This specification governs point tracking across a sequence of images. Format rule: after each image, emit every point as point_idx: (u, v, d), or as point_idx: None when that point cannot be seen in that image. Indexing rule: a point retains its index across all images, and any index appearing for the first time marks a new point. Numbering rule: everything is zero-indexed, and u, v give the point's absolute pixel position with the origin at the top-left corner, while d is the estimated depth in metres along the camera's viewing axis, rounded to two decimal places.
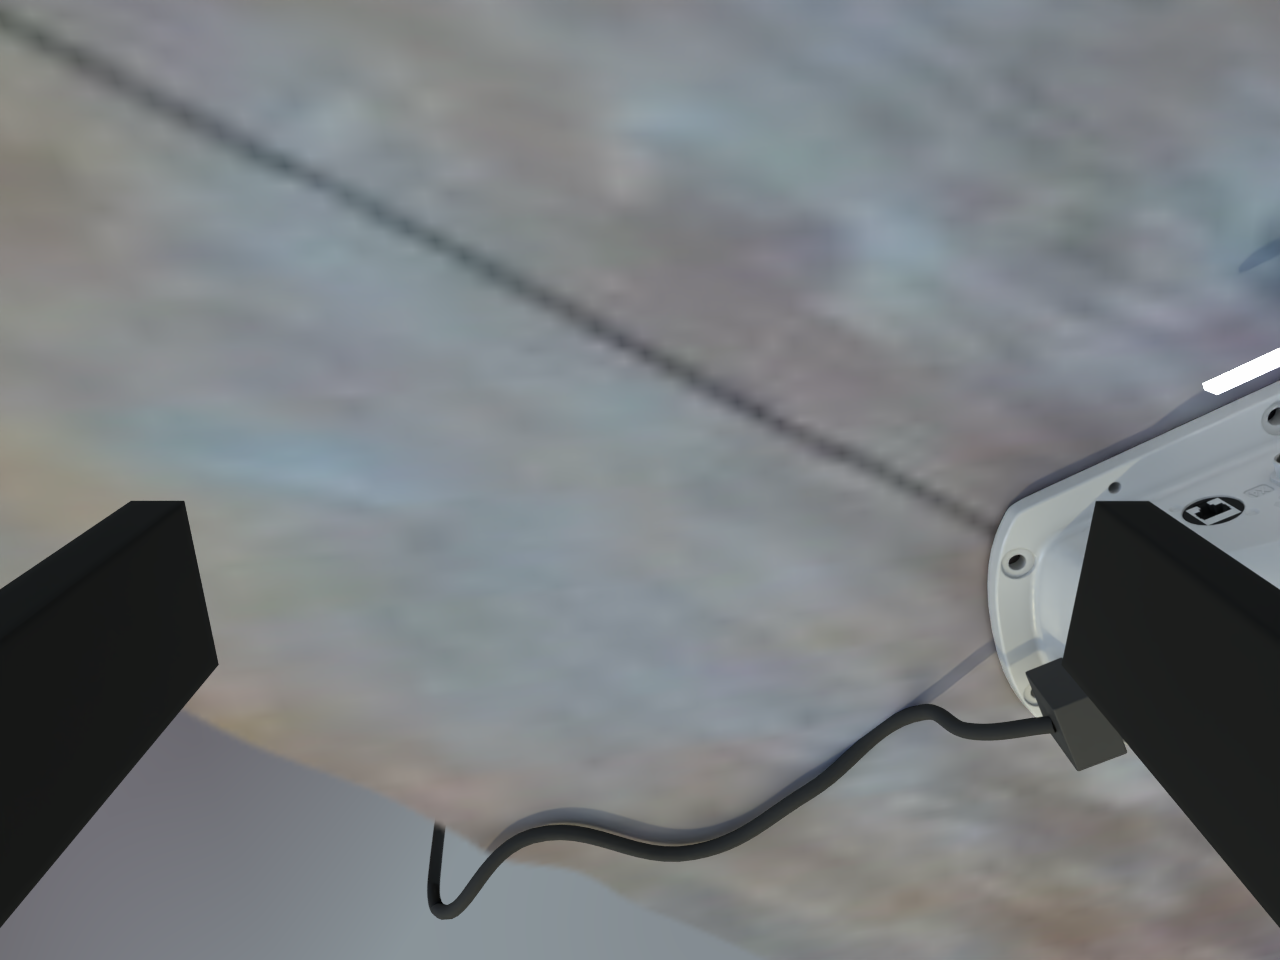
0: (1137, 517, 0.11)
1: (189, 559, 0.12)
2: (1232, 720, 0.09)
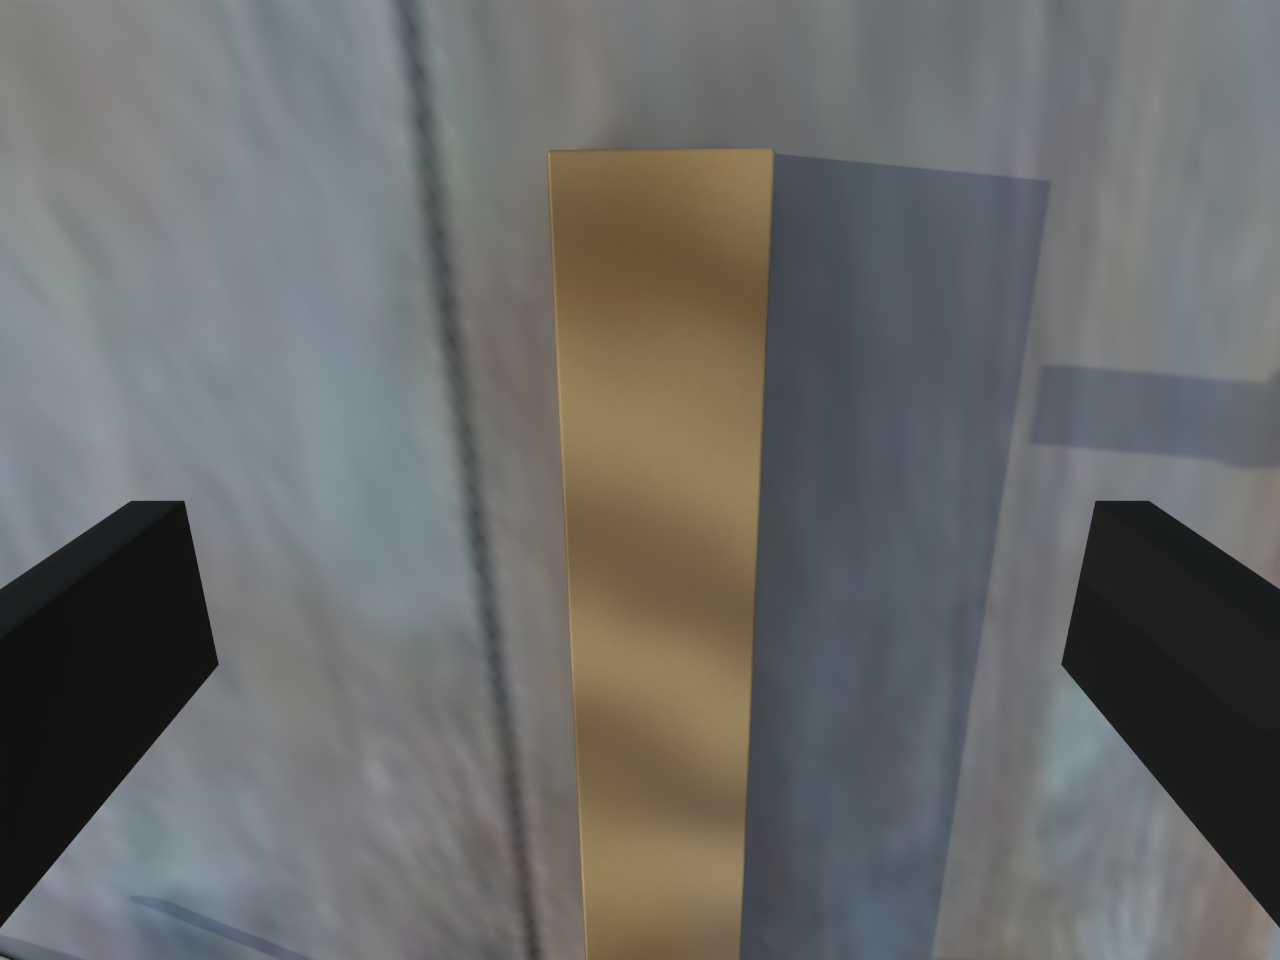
0: (1137, 517, 0.11)
1: (189, 559, 0.12)
2: (1232, 720, 0.09)
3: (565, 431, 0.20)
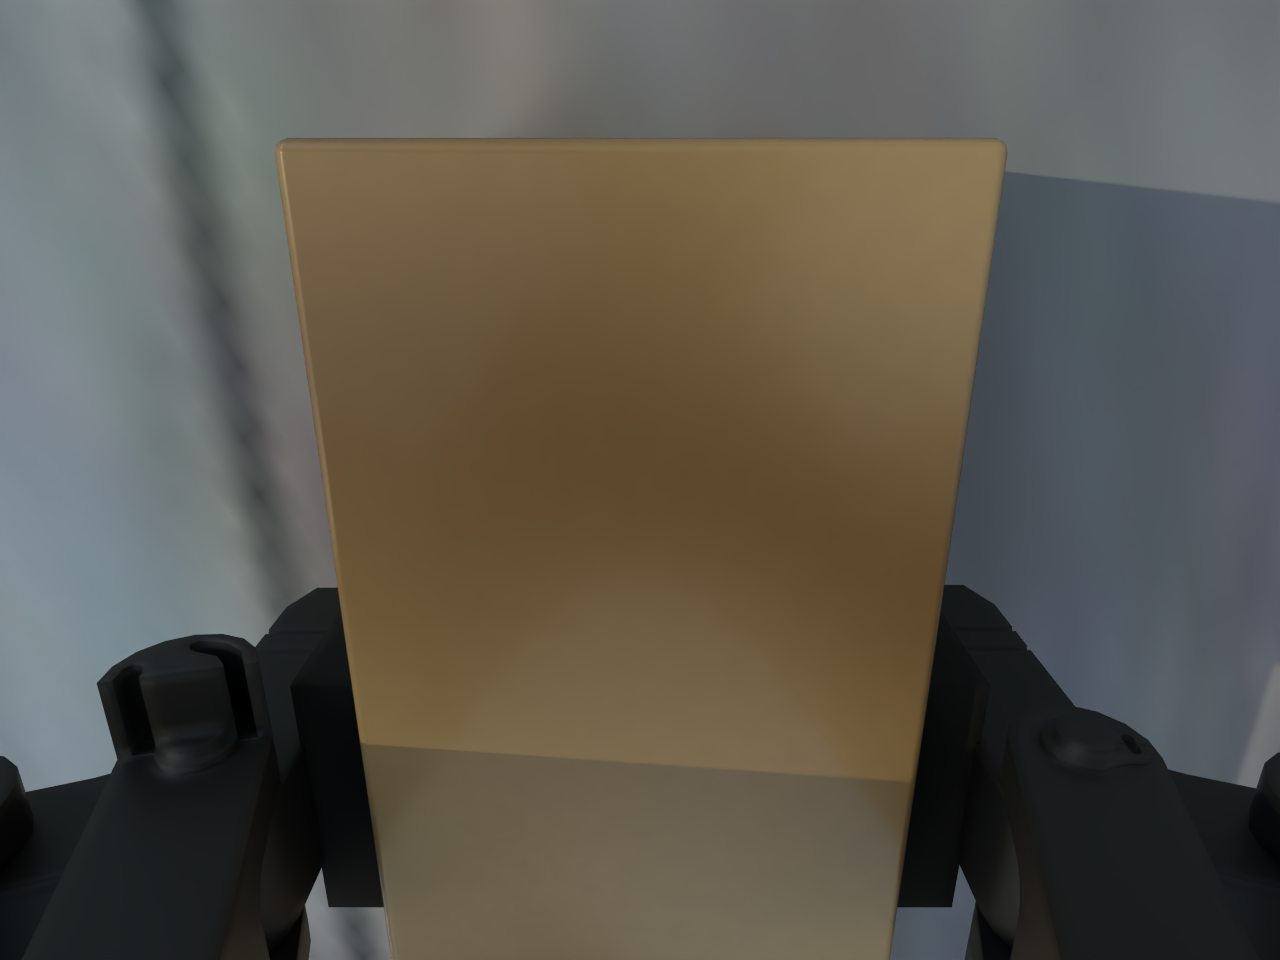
0: None
1: None
2: None
3: (390, 872, 0.08)
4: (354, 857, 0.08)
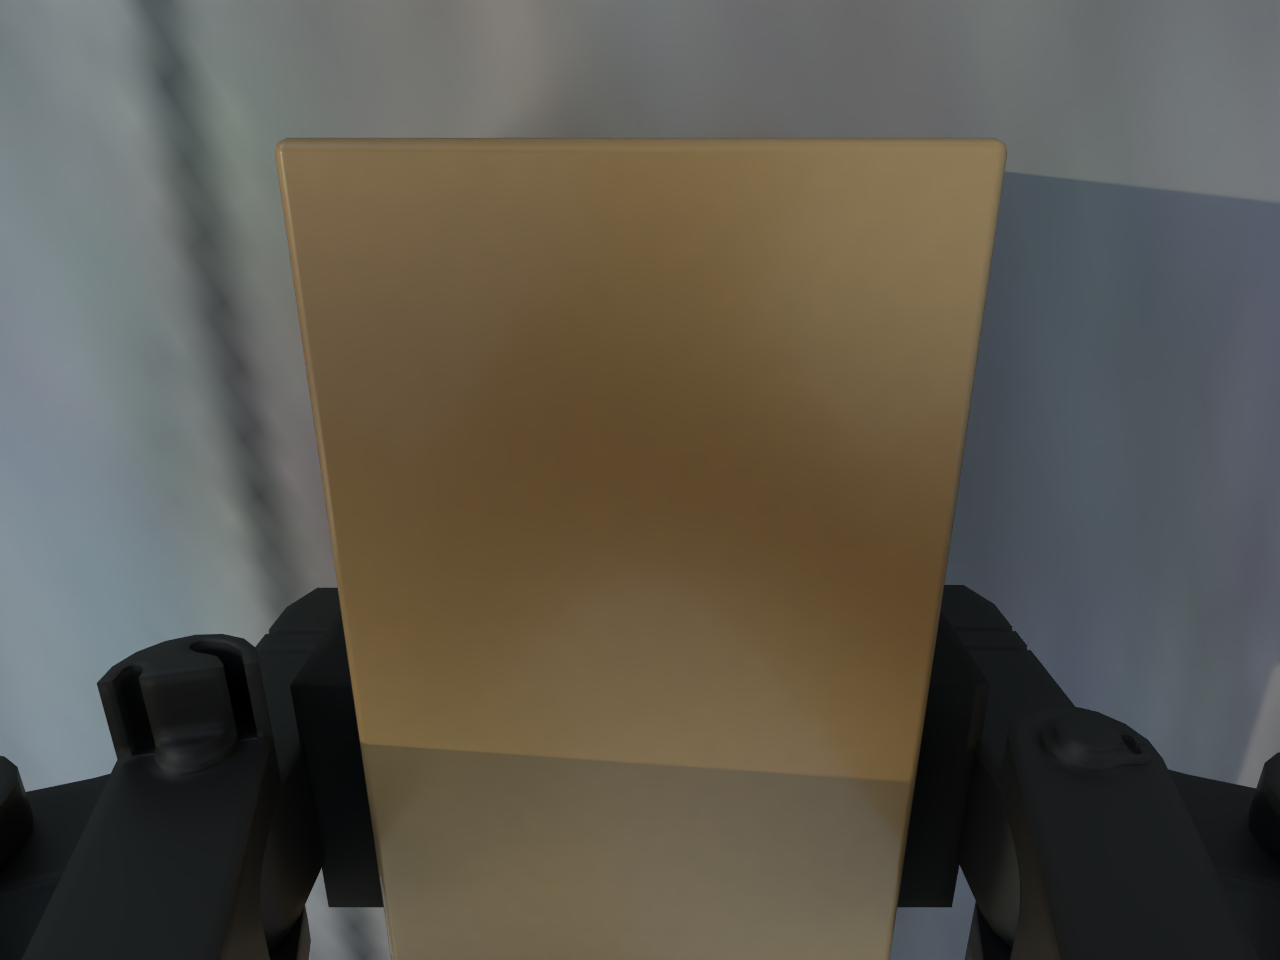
0: None
1: None
2: None
3: (390, 873, 0.08)
4: (354, 857, 0.08)
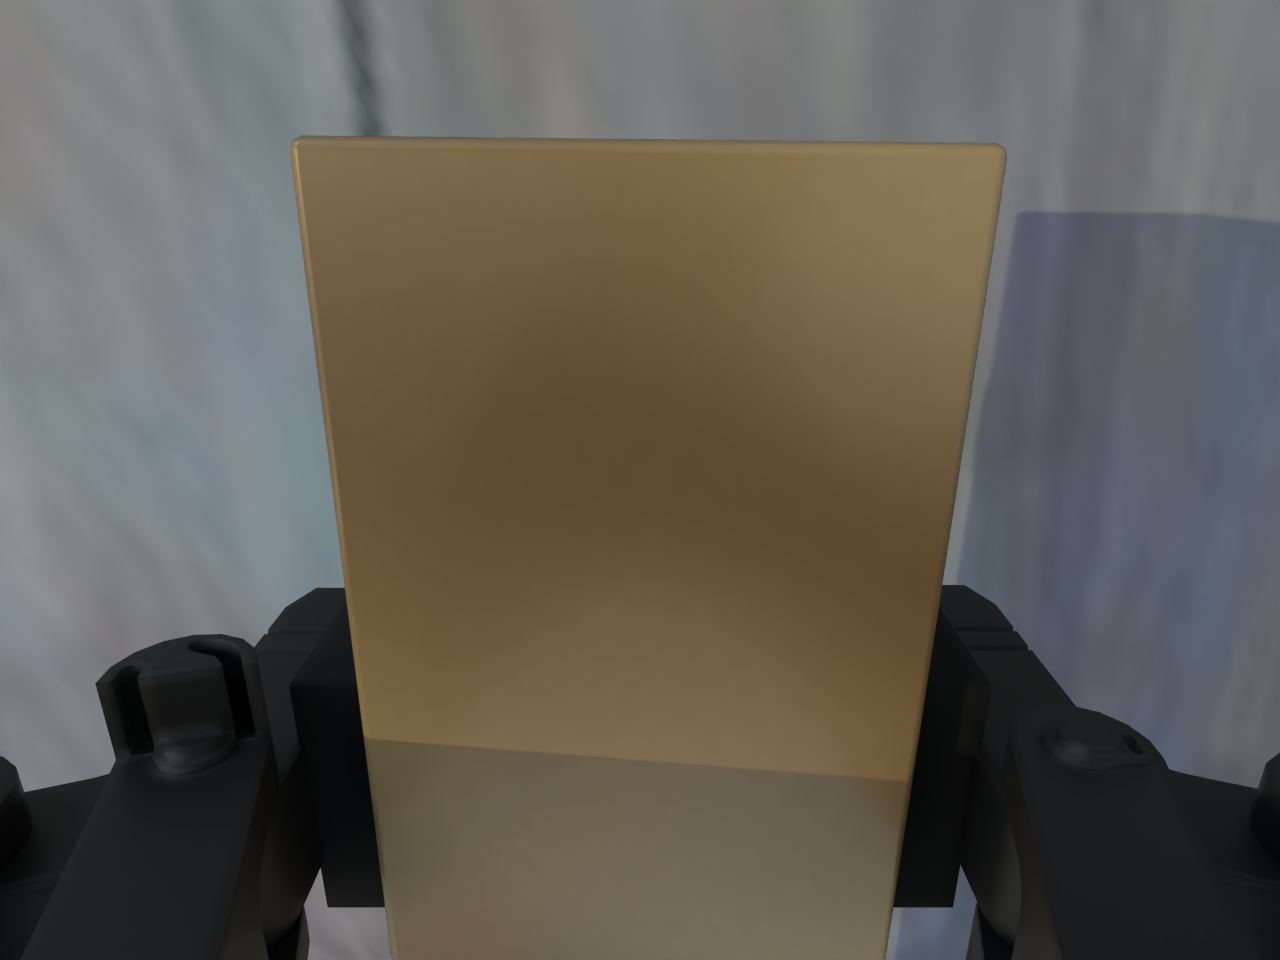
0: None
1: None
2: None
3: (391, 865, 0.08)
4: (353, 857, 0.08)
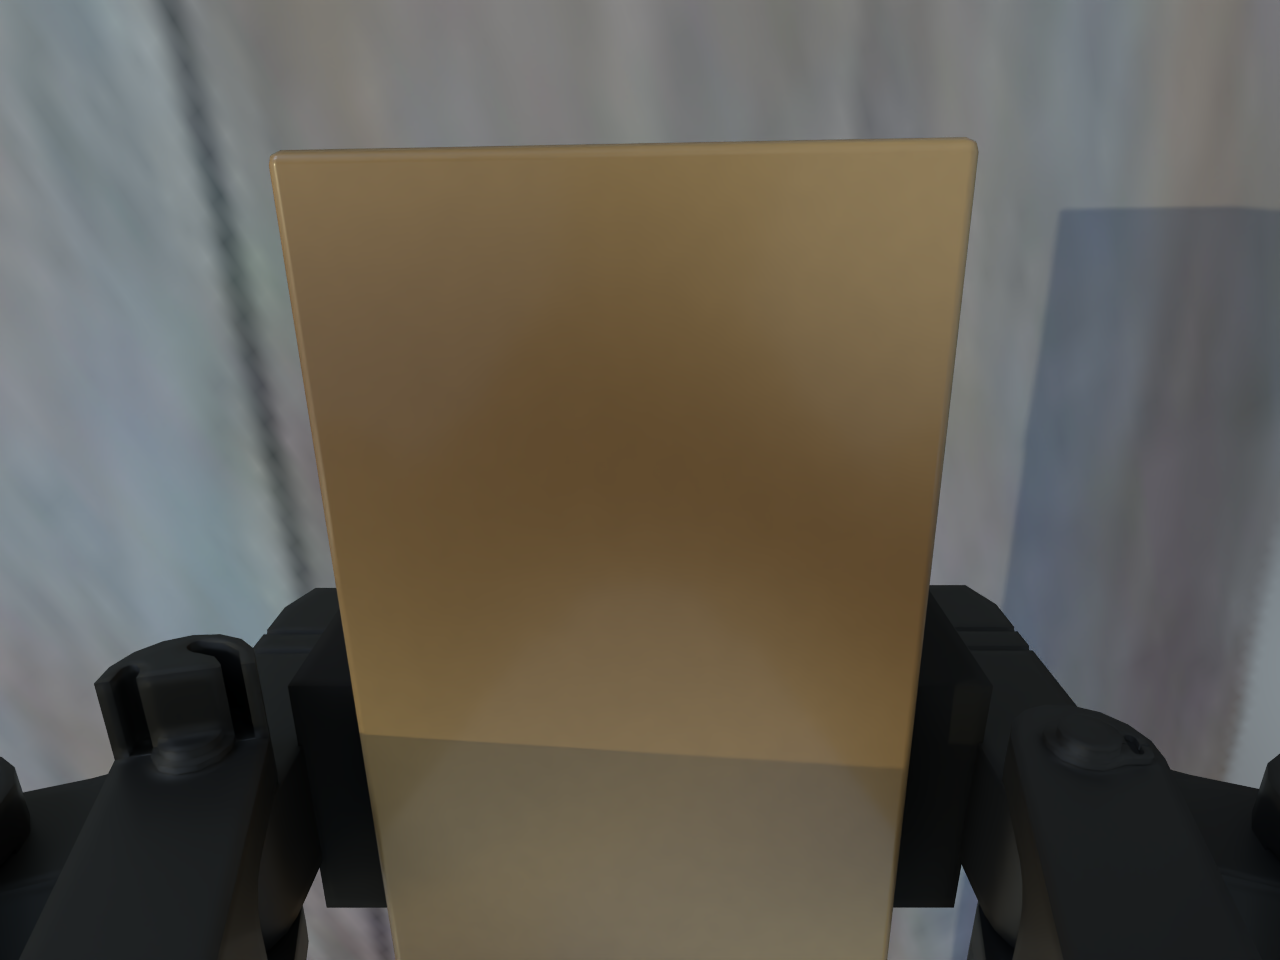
0: None
1: None
2: None
3: (392, 871, 0.08)
4: (352, 858, 0.08)
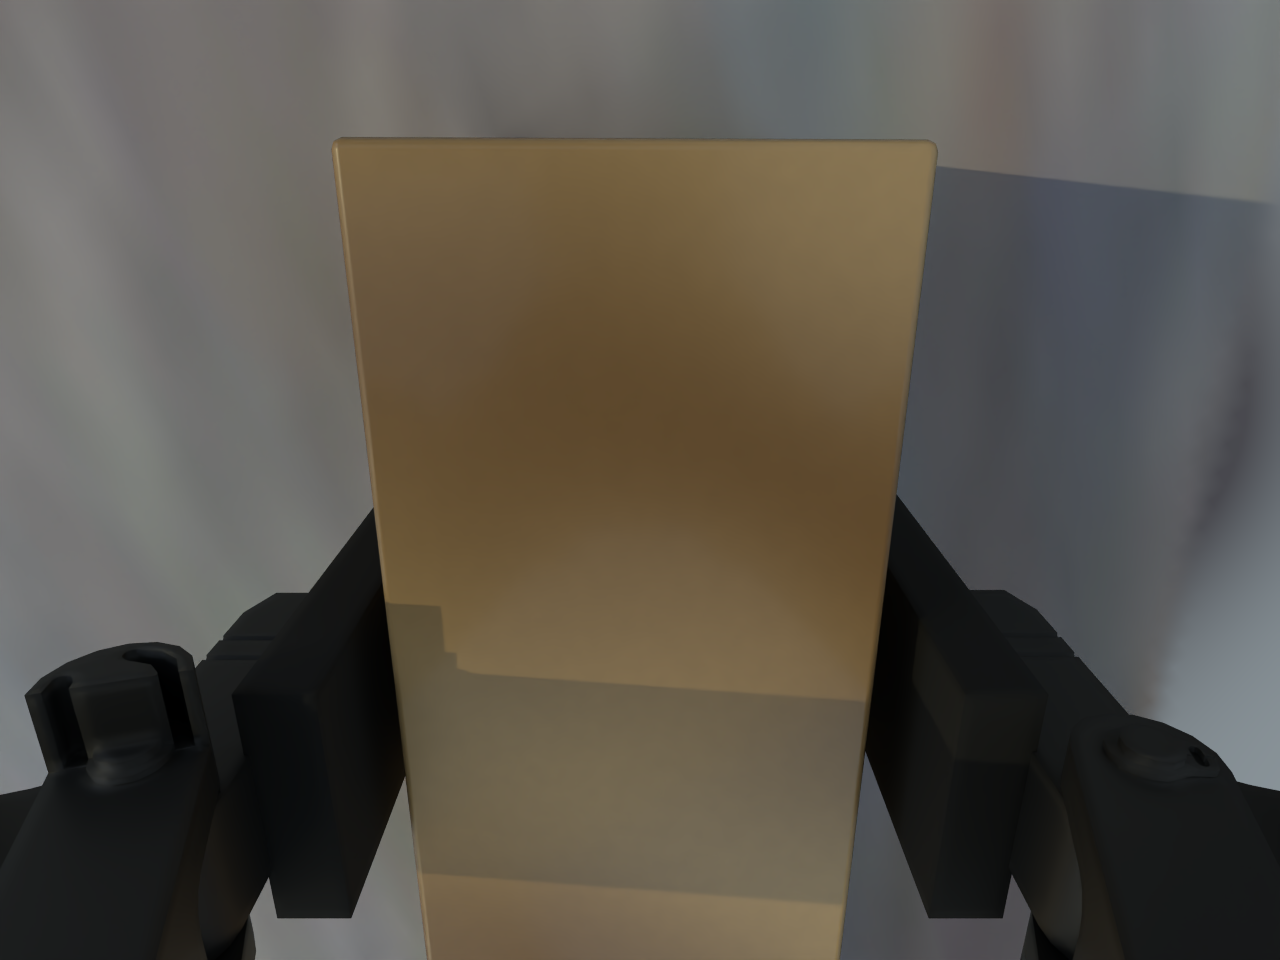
0: None
1: None
2: None
3: (415, 776, 0.09)
4: (302, 868, 0.08)
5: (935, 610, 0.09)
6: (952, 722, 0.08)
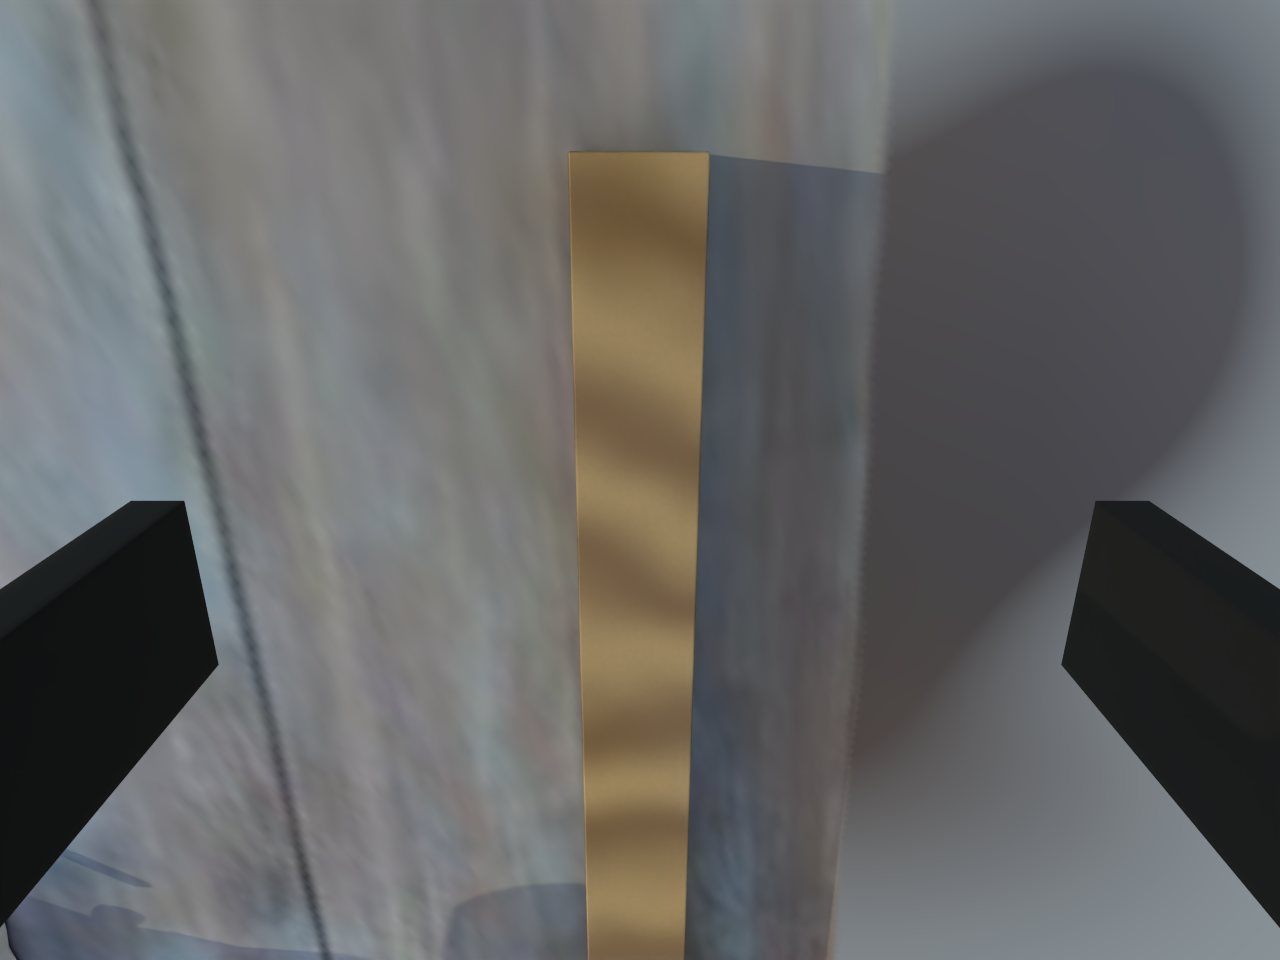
0: (1137, 517, 0.11)
1: (189, 559, 0.12)
2: (1232, 720, 0.09)
3: (575, 333, 0.31)
4: None
5: None
6: None
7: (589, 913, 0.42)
